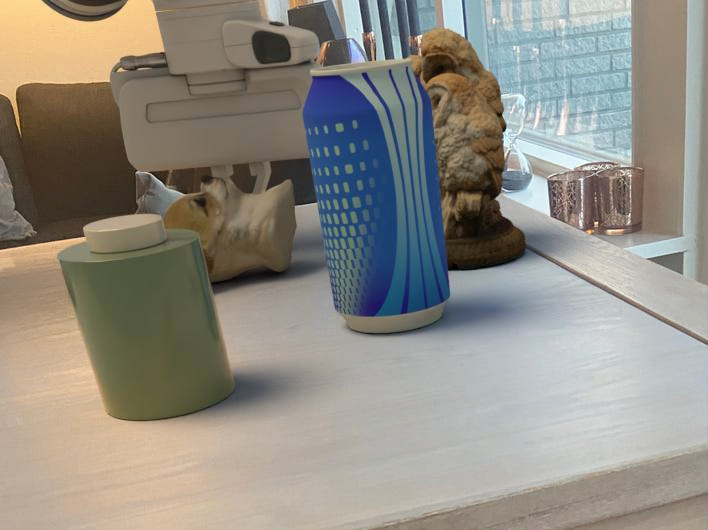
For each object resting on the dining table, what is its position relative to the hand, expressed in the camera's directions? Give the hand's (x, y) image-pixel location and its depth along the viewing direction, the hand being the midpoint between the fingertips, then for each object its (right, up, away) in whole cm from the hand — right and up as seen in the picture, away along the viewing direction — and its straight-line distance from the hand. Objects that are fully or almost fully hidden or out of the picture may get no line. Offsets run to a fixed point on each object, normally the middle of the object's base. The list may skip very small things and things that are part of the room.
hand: (250, 215), depth 92 cm
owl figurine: (+19, -5, -4) cm, 21 cm away
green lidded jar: (+3, -25, -32) cm, 41 cm away
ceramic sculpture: (-1, -9, -7) cm, 11 cm away
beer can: (+16, -17, -22) cm, 32 cm away
